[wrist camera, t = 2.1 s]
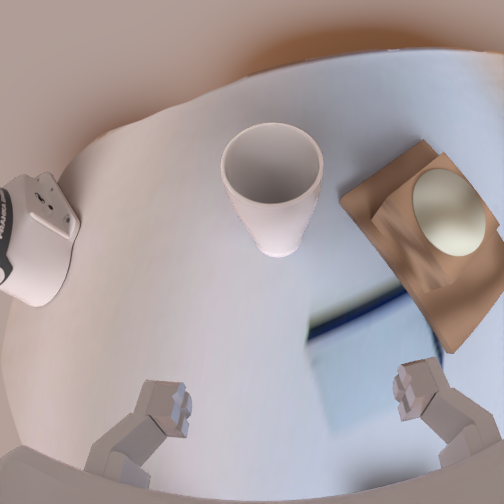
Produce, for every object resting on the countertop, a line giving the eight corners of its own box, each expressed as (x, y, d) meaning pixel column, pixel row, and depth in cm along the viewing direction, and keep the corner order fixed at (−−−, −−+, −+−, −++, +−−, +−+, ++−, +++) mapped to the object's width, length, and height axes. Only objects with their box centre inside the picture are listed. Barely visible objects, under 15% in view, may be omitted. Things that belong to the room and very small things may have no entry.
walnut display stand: (339, 203, 32) (352, 168, 25) (419, 145, 33) (440, 110, 26) (447, 353, 26) (485, 355, 19) (512, 270, 27) (547, 255, 20)
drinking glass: (242, 213, 33) (213, 131, 19) (301, 202, 33) (309, 113, 18) (253, 271, 31) (225, 219, 17) (315, 258, 31) (338, 197, 17)
